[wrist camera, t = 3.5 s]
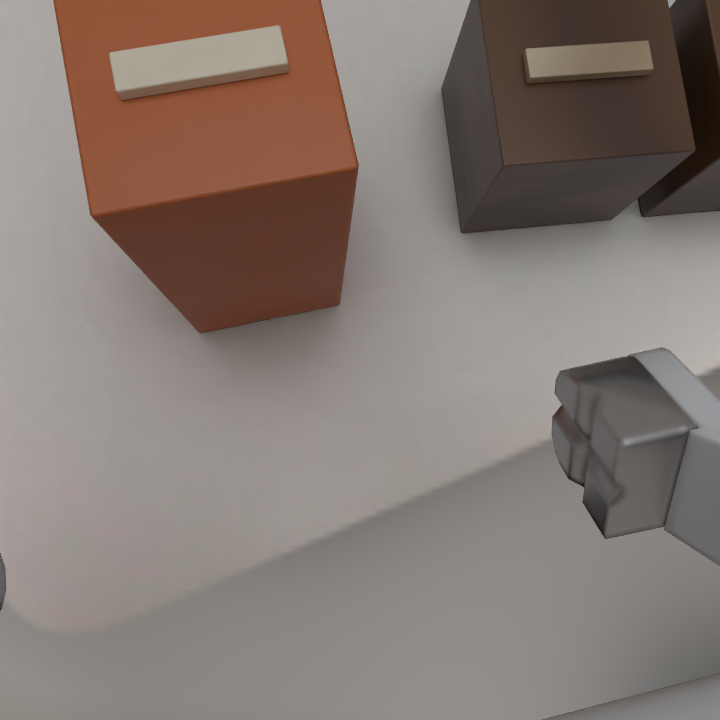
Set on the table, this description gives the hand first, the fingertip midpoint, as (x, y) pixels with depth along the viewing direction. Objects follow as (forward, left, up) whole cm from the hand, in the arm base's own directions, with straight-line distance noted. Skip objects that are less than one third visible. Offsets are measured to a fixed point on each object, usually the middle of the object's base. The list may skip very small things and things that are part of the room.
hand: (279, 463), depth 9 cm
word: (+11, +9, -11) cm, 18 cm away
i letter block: (-1, +7, -11) cm, 13 cm away
